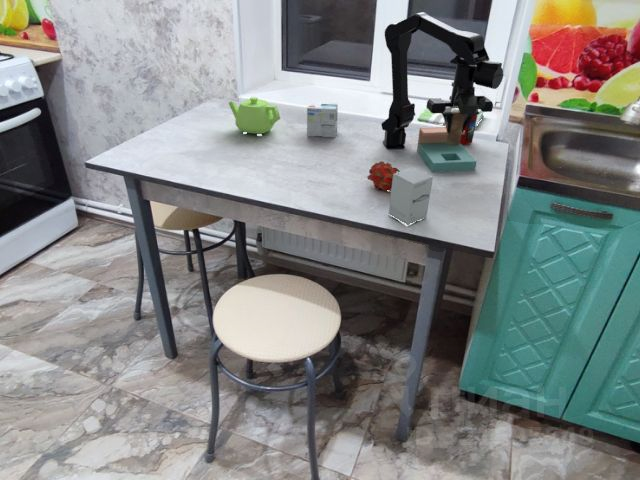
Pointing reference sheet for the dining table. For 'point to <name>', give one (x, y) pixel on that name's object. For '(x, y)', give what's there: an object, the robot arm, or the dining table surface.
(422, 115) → the dish towel
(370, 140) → the dining table surface
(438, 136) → the socket plate
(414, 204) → the supplement box
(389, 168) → the dragon fruit
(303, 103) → the dining table surface
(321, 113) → the light bulb box
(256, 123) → the teapot
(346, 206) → the dining table surface
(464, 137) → the beverage can
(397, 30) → the robot arm
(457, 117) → the walnut peg
